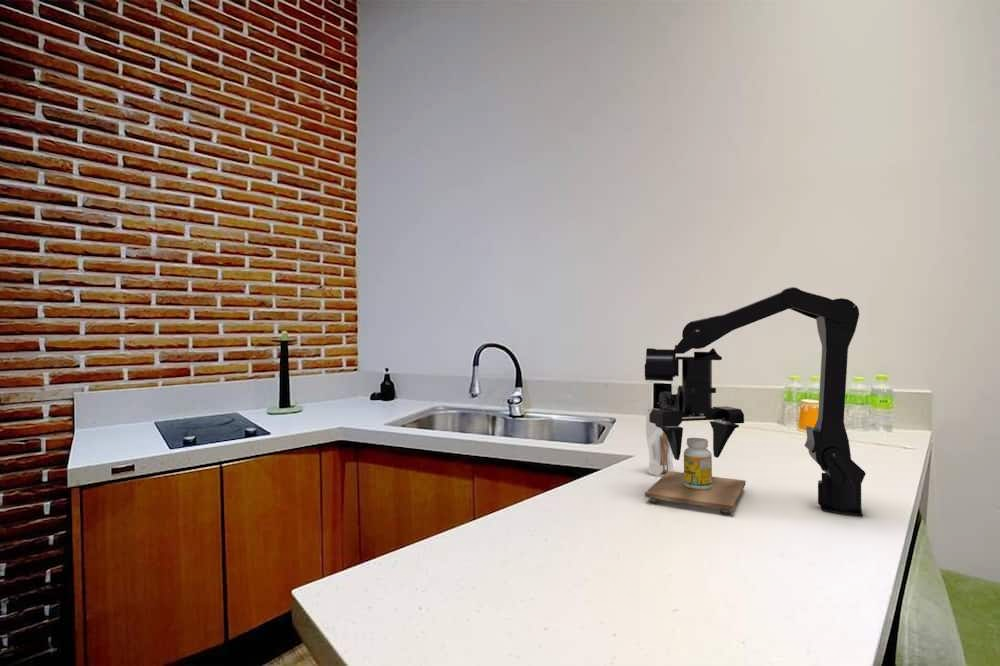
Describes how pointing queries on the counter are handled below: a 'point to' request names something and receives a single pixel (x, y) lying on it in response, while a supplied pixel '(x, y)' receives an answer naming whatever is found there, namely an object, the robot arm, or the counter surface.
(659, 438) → the beer glass
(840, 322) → the robot arm
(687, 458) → the supplement bottle
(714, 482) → the peg shelf
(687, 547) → the counter surface
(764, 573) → the counter surface
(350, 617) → the counter surface
